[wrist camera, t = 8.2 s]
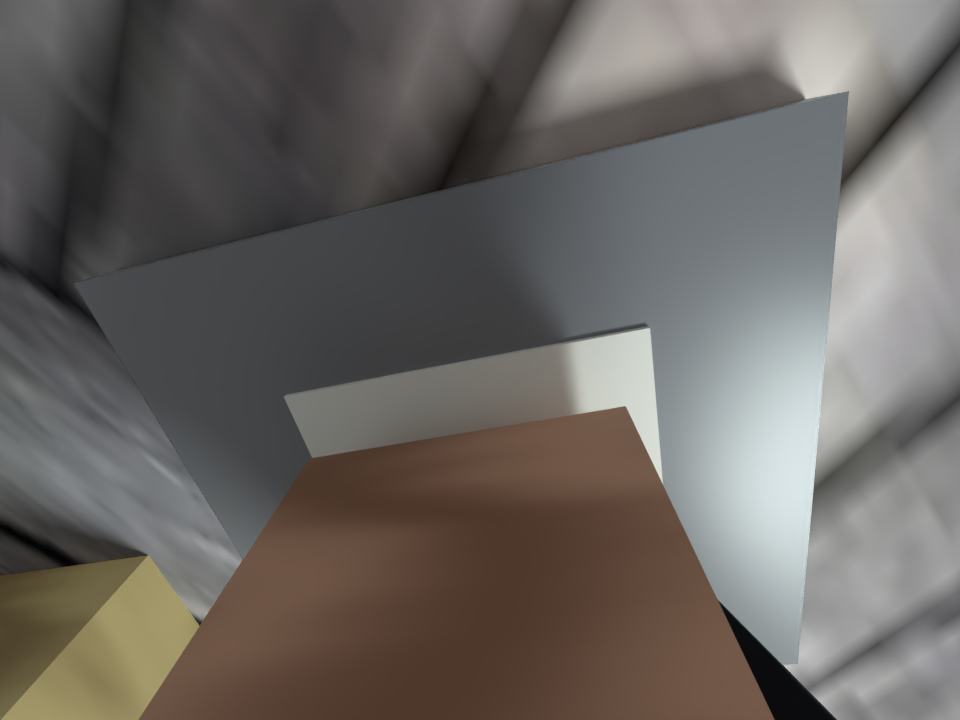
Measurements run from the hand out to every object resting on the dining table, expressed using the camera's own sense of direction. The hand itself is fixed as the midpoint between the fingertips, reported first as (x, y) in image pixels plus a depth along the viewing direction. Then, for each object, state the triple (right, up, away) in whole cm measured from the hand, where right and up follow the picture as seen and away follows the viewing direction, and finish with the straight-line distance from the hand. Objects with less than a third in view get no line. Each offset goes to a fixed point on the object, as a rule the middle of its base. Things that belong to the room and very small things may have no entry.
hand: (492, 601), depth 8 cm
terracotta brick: (0, 0, +1) cm, 1 cm away
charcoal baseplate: (0, +1, +3) cm, 4 cm away
